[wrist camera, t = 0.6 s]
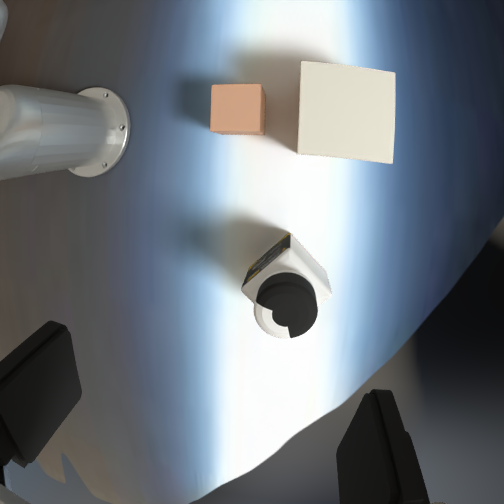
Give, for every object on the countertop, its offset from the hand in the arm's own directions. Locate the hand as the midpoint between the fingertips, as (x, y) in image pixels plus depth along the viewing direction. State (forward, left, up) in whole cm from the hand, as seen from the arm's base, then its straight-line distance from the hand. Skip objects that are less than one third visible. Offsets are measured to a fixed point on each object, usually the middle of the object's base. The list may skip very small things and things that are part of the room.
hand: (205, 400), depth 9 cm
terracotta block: (-4, +12, -32) cm, 34 cm away
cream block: (+7, +11, -27) cm, 31 cm away
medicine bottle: (+2, -7, -32) cm, 33 cm away
